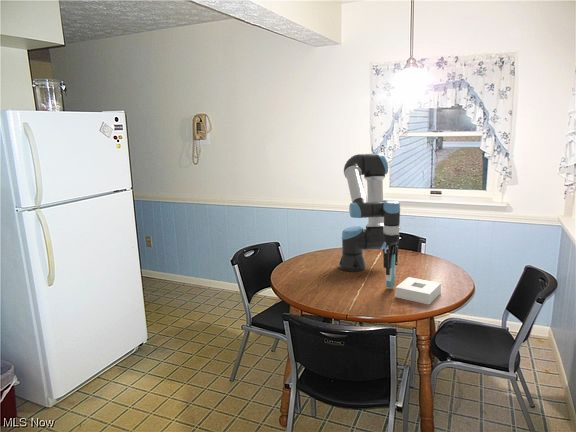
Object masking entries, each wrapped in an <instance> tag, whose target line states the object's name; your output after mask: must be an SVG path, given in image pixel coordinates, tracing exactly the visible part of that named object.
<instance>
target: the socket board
mask: <svg viewBox="0 0 576 432" xmlns="http://www.w3.org/2000/svg"><path fill="white" fill-rule="evenodd" d="M441 293H442V283H441V282H437V281H432V280H427V279H426V280H425V279H420V278H417V277H415V278H414V277H410V276H408V277H407V278H405V279H404V280H403V281H402V282H401V283H399V284H398V285H397V286H395V294H394V295H395V298H397V299H403V300H406V301H411V302H416V303H420V304H423V305H424V304H425V305H430V304H432V302H434V301H435V299H436V298H437V297H438V296H439V295H441Z"/></svg>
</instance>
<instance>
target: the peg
mask: <svg viewBox="0 0 576 432" xmlns="http://www.w3.org/2000/svg"><path fill="white" fill-rule="evenodd" d="M391 268H392V273H391V281H386V280H385V286H386V288H392V289H393V288H395V279H396V265H395V255H392V260H391Z"/></svg>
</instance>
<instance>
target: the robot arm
mask: <svg viewBox="0 0 576 432" xmlns="http://www.w3.org/2000/svg"><path fill="white" fill-rule="evenodd" d="M388 173H389V164H388V160H387V157H386V155H385V154H384V153H365V154H364V153H362V154H360V153H359V154H355V155H353V156H351V157H350V158H348V160H347V161H346V162H345V164H344V166H343V176H344V177H345V178H346V181H347V184H348V190H349V195H350V199H351V203H350V204H349V205H348V207H349V211H348V212H349V216H350V218H353V219H355V218H356V219H361V218H362V219H363V218H366V219H368V222H367V224H366V225H365V228H364V227H362V226H360V225H359V226H349V227H347V228H346V227H345V228H344V229H343V230H342V234H341V244H342V245H341V246H342V248H341V249H342V250H341V254H342V255H341V257H340V260H339V263H338V267H339V269H340V270H341V271H346V272H352V273H353V272H361V271H363V270H366V268H367V264H366V261H365V257H364V253H363V252H364V250H365V251H366V250H371V251H373V250H382V253H383V256H382V257H383V268H384V269H385V282H386V281H391V273H392V268H391V260H392V255H395V266H398V262H399V261H398V259H399V258H398V257H399V246H400V243H399V242H400V230H401V227H400V223H401V221H400V220H401V204H400V202H399V201H397V200H384V190H383V189H384V188H383V186H384V185H383V180H384V179H385V178H386V175H387V174H388ZM362 176H363V178H364V180H366V186H367V196H366V191H365V187H364V183H363V179H362Z"/></svg>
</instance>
